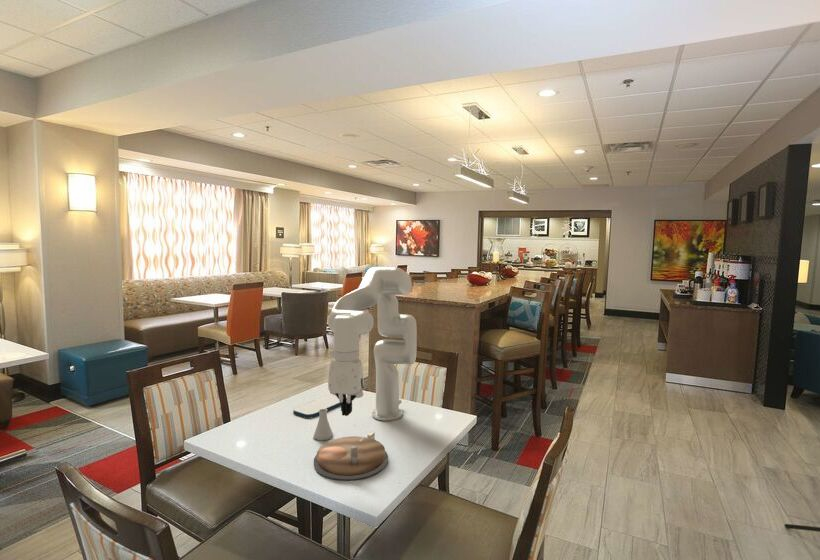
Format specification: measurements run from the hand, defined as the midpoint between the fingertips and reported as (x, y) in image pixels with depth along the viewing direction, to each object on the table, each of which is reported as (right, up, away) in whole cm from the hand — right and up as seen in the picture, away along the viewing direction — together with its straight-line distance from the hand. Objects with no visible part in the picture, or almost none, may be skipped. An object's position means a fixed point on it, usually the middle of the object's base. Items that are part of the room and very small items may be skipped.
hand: (346, 414), depth 132 cm
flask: (-12, -17, +26) cm, 34 cm away
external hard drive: (-19, -15, +55) cm, 60 cm away
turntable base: (+1, -18, +10) cm, 20 cm away
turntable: (0, -17, +8) cm, 19 cm away
